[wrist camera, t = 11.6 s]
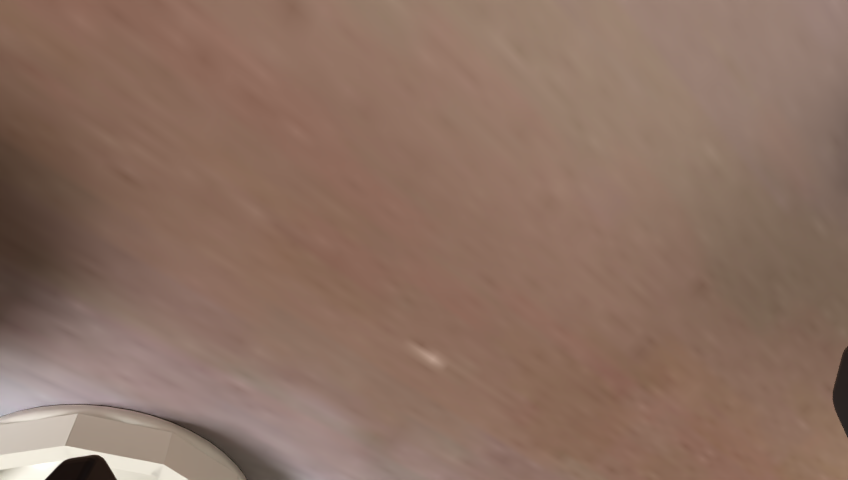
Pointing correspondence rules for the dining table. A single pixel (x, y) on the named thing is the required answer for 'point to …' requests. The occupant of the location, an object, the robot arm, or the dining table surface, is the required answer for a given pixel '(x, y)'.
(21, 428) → the round white tray
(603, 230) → the dining table surface
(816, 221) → the dining table surface
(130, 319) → the dining table surface
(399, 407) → the dining table surface
